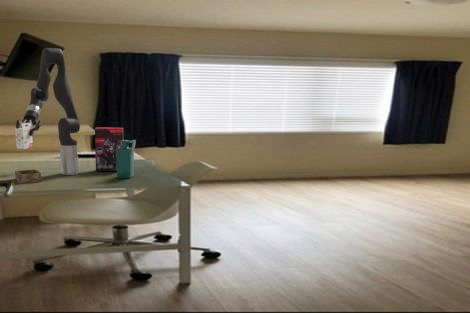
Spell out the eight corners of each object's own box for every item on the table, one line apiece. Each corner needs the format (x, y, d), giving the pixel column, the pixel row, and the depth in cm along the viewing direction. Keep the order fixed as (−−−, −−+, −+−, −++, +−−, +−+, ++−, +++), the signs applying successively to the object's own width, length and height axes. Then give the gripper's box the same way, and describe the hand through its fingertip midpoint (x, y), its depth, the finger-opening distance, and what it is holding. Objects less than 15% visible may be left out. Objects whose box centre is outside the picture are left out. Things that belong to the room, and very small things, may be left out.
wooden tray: (35, 177, 233) (35, 169, 232) (41, 181, 221) (41, 173, 221) (15, 178, 227) (14, 170, 226) (19, 183, 215) (19, 175, 215)
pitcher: (115, 177, 238) (115, 140, 235) (121, 175, 247) (120, 138, 244) (131, 178, 237) (131, 140, 234) (136, 176, 246) (137, 139, 243)
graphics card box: (94, 171, 255) (94, 127, 252) (96, 169, 262) (95, 126, 258) (123, 171, 259) (123, 128, 255) (124, 169, 266) (124, 127, 262)
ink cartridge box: (25, 147, 247) (24, 122, 244) (33, 147, 246) (31, 122, 244) (15, 148, 238) (14, 123, 236) (23, 149, 237) (22, 123, 235)
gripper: (18, 109, 248) (9, 130, 238) (42, 109, 249) (35, 131, 238) (22, 117, 254) (14, 138, 244) (46, 118, 255) (39, 139, 244)
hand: (24, 134), depth 241 cm, fingers closed on ink cartridge box, 5 cm apart
